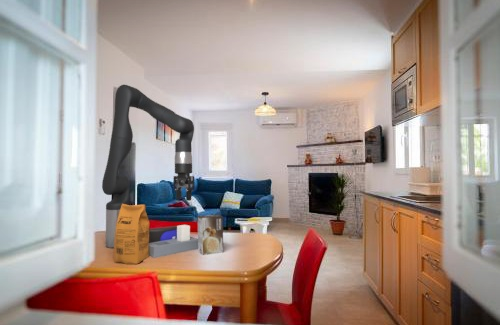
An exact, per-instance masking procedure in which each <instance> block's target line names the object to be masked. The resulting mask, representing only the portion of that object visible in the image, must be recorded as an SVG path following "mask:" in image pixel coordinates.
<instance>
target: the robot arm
mask: <svg viewBox="0 0 500 325" xmlns="http://www.w3.org/2000/svg"><path fill="white" fill-rule="evenodd" d="M114 97H115V98H114V115H113V116H114V117H113V125H112V130H111V131H112V132H111V136H110V144H109V149H108V150H109V152H108V158H107V162H106V166H105V170H104V174H103V178H102V182H101V183H102V185H101V187H102V188H101V189H102V192H103V193H104V194H105V195H108V196H113V198H112V200H110V201H108V202H107V203H106V205H105V247H106V248H112V249H113V248H114V239H115V229H116V224H117V219H118V216H119V212H120V209H121V205H122V204H126V205H129V203H130V202H129V201H130V191H131V190H130V189H131V187H130V186H131V184H130V180H129V177H127V175H124V174H119V171H120V168H121V166H122V163H123V162H124V161H125V159H126V158H127V156H128V155H129V153H130V151H131V150H132V144H133V139H134V138H133V137H134V135H133V128H132V125H131V123H130V117H129V115H130V109H131V108H136V109H139V110H142V111H144V112H145V113H147V114H149V115H150V116H151V117H152V118H153V119H155V120H156V121H158V122H160V123H161V124H164V125H165V126H167V127H169V129H171V130H173V131H174V132H176V133H179V138H177V139H176V140H175V143H174V146H175V148H174V149H175V150H174V152H175V153H174V154H175V155H174V174H176V175H174V176H173V188H172V189H173V190H175V199H176V200H182V190H183V188H184V189H185V191H186V192H185V200H186V201H192V192H193V191H195V189H196V188H195V186H196V185H195V184H196V183H195V175H190V174H192V173H193V154H192V150H193V149H192V142H193V138H194V132H195V125H194V122H193V121H192V120H191V119H189V118H187V117H184V116H181V115H179V114H177V113H176V112H175V111H173V110H172V109H170V108H168V107H166V106H164V105H162V104H160V103H158V102H157V101H155V100H152V99H151V98H149V97H148V96H147V95H146V94H144V93H143V92H142V91H141V90H139V89H138V88H136V87H133V86H130V85H128V84H121V85H119V86H118V88H117V89H116V91H115V96H114Z"/></svg>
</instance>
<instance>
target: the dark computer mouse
mask: <svg viewBox="0 0 500 325" xmlns="http://www.w3.org/2000/svg"><path fill="white" fill-rule="evenodd" d="M177 226H178V225H174V226H173V225H172V226H164V227H163V226H162V227H155V228H149V243H152V242H158V241H164V240H170V239H176V238H177Z"/></svg>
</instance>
